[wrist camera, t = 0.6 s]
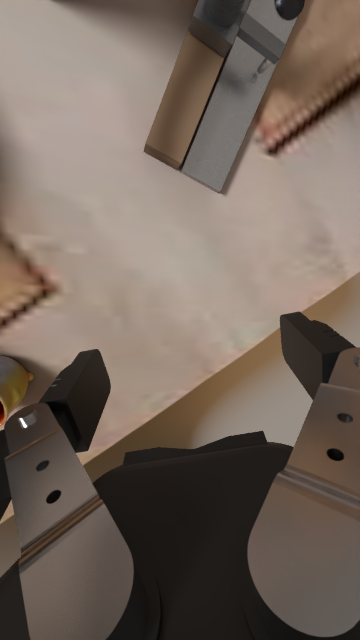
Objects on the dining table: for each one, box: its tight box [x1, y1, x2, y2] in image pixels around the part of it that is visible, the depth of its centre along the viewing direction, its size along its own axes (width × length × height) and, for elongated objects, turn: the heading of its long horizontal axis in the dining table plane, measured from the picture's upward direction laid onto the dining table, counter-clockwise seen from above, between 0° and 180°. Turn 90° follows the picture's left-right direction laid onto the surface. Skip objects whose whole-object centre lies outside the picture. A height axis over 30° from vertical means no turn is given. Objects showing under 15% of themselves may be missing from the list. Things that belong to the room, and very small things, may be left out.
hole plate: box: [180, 0, 305, 193], centre depth 29 cm, size 5×34×1 cm, turn 155°
